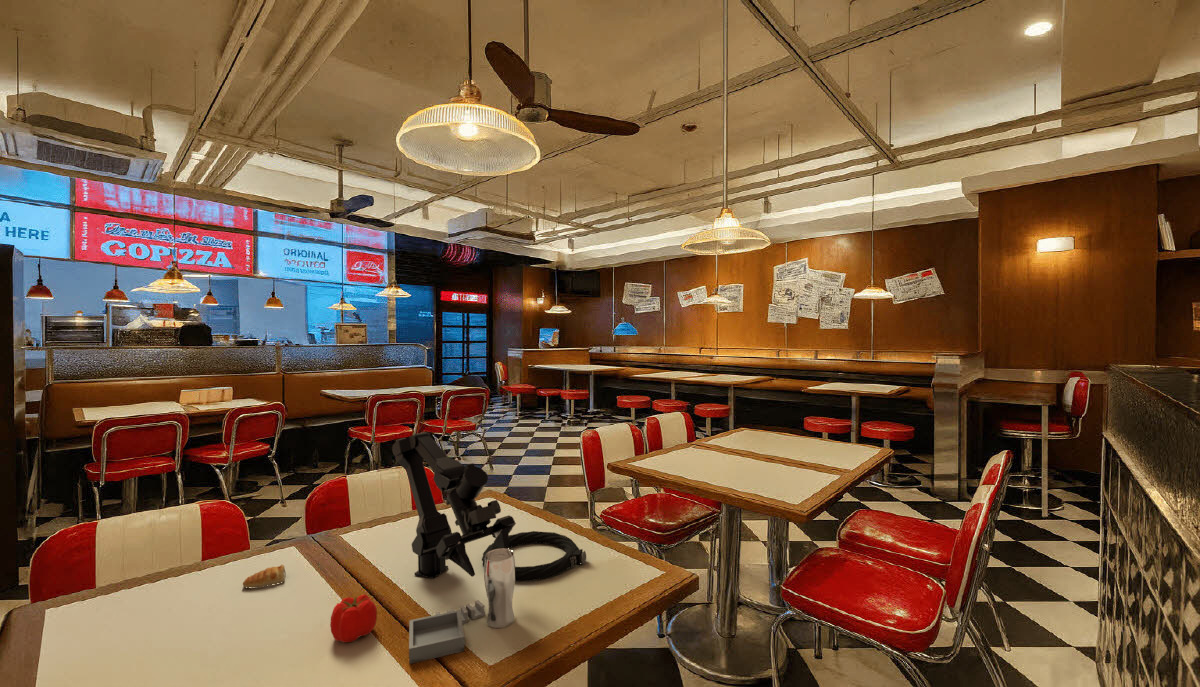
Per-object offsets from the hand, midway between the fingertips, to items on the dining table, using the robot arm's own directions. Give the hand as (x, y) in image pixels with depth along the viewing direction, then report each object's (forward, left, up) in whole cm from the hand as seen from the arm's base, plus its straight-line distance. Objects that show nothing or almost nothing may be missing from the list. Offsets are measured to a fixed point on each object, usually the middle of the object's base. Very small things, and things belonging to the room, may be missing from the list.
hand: (491, 568), depth 112 cm
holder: (-6, -13, -11) cm, 18 cm away
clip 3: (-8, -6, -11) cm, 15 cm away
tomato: (-25, -16, -11) cm, 31 cm away
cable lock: (-3, +28, -11) cm, 31 cm away
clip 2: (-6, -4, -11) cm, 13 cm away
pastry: (-65, -4, -11) cm, 66 cm away
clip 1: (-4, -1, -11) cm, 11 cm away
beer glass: (+3, -2, -11) cm, 11 cm away
